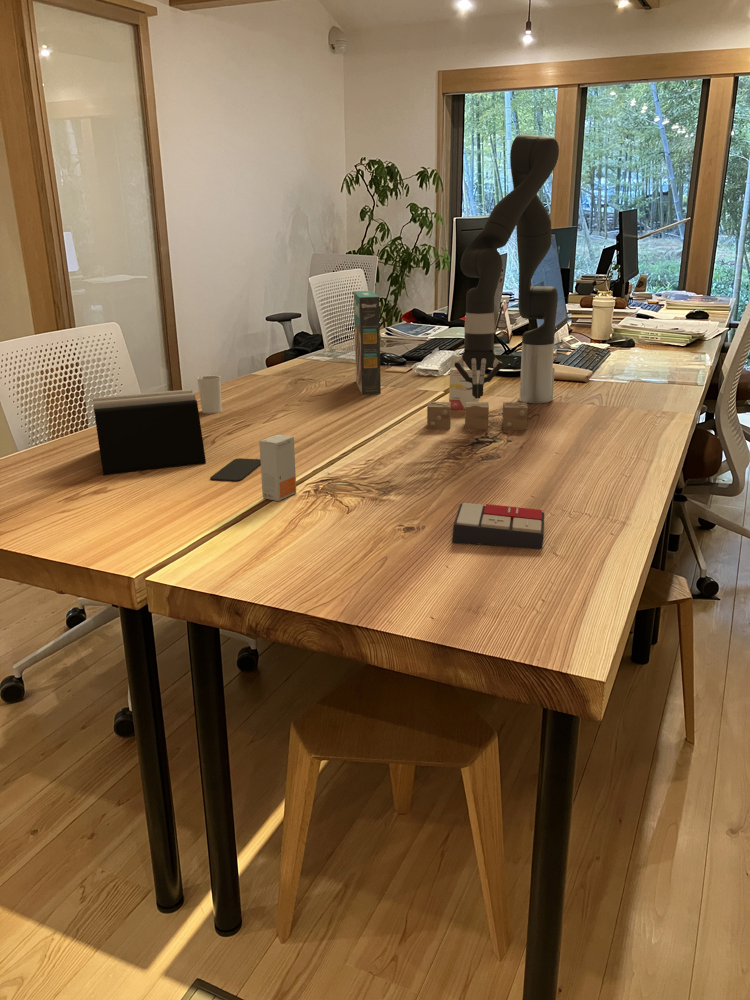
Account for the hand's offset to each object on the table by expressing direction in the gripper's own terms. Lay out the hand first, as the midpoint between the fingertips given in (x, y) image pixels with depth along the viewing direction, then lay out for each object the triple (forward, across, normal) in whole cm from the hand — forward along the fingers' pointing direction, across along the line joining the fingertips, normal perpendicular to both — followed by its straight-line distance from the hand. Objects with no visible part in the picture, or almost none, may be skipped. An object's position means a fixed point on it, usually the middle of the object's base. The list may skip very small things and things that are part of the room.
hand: (477, 397), depth 204 cm
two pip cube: (+8, +10, 0) cm, 13 cm away
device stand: (+8, -77, -31) cm, 84 cm away
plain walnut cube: (+8, 0, 0) cm, 8 cm away
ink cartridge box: (+8, -4, +22) cm, 24 cm away
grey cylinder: (+8, -77, +15) cm, 79 cm away
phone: (+9, -53, -41) cm, 68 cm away
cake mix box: (+8, -35, +51) cm, 63 cm away
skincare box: (+8, -40, -58) cm, 71 cm away
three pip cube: (+8, -10, 0) cm, 13 cm away
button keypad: (+9, +3, -75) cm, 76 cm away
